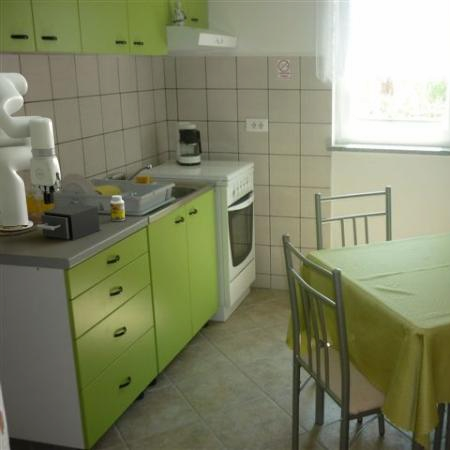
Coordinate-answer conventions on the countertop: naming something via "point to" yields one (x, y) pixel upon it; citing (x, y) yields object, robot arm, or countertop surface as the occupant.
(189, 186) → the countertop surface
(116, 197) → the supplement bottle
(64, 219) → the drawer
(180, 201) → the countertop surface
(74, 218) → the dark grey box
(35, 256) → the countertop surface
